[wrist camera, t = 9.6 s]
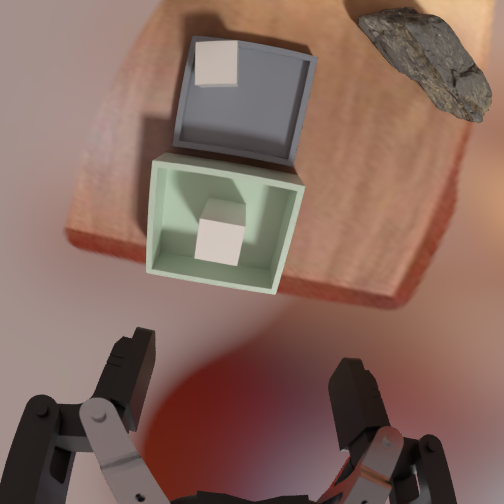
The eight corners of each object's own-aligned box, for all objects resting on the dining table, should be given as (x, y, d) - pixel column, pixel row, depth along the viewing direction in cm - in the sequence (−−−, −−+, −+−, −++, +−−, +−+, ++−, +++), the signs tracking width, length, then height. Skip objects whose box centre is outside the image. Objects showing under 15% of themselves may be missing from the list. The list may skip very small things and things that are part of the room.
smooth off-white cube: (202, 50, 24) (195, 42, 20) (238, 49, 24) (237, 40, 20) (202, 87, 25) (194, 84, 22) (238, 86, 25) (236, 83, 22)
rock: (504, 74, 19) (495, 140, 21) (467, 81, 25) (453, 141, 27) (393, -31, 15) (370, 27, 17) (363, -4, 21) (337, 53, 23)
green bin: (165, 152, 29) (152, 160, 25) (297, 175, 30) (305, 186, 26) (157, 253, 34) (146, 272, 30) (272, 272, 36) (275, 294, 32)
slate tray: (195, 38, 23) (192, 35, 22) (314, 59, 24) (317, 57, 23) (175, 144, 29) (172, 146, 27) (290, 163, 30) (292, 166, 28)
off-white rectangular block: (208, 197, 31) (199, 218, 25) (246, 204, 31) (245, 226, 26) (203, 231, 33) (194, 258, 27) (239, 238, 33) (237, 266, 28)
